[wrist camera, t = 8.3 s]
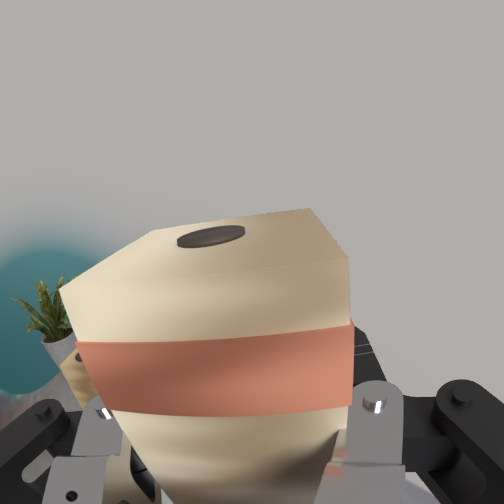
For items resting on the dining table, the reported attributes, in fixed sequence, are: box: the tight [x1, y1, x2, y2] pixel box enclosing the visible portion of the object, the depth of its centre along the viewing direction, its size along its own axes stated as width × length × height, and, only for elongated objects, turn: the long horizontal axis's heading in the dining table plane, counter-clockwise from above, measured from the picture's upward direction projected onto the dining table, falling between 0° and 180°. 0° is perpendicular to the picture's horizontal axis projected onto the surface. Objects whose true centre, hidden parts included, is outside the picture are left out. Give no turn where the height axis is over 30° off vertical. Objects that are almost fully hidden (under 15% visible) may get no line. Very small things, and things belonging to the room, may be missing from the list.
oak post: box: [60, 348, 99, 409], centre depth 26 cm, size 4×4×12 cm
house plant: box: [12, 275, 79, 371], centre depth 42 cm, size 14×14×16 cm
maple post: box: [59, 208, 354, 504], centre depth 8 cm, size 5×5×11 cm
